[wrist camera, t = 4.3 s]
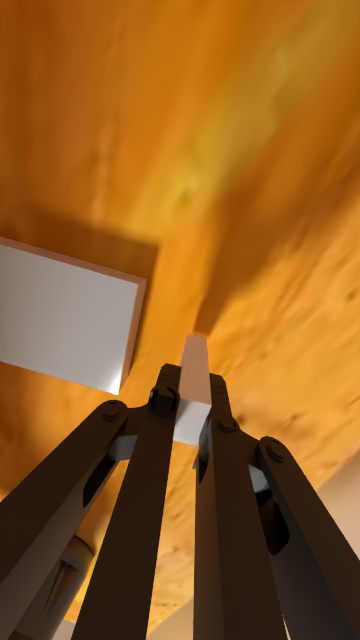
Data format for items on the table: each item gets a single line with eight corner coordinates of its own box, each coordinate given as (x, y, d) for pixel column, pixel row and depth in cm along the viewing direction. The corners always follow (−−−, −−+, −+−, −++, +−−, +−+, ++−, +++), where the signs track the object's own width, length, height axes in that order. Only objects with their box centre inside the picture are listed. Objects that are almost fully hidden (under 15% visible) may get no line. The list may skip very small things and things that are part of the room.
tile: (129, 373, 19) (117, 394, 16) (-40, 324, 19) (-83, 337, 16) (149, 278, 15) (137, 284, 12) (-62, 216, 15) (-123, 208, 12)
